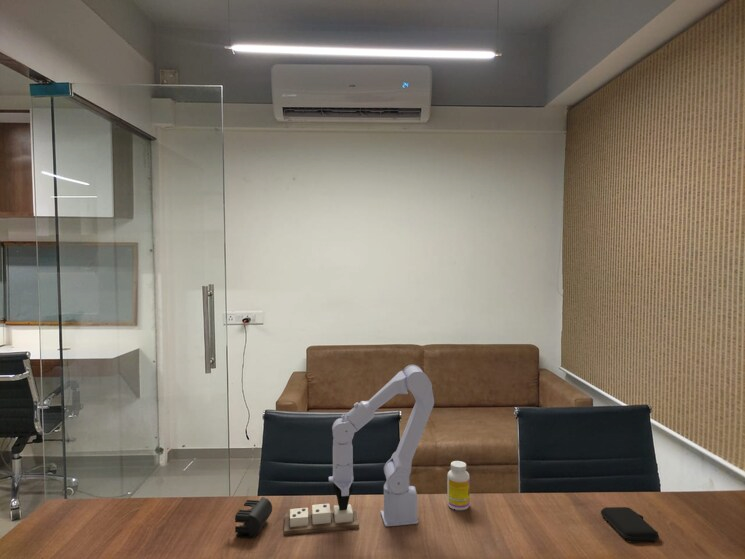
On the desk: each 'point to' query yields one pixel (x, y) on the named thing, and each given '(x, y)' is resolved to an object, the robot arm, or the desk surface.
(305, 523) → the tile three
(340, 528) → the tile tray
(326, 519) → the tile two
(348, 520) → the tile one
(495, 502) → the desk surface
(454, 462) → the supplement bottle
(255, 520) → the end cap
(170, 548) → the desk surface
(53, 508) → the desk surface
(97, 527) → the desk surface
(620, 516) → the black rounded phone case
